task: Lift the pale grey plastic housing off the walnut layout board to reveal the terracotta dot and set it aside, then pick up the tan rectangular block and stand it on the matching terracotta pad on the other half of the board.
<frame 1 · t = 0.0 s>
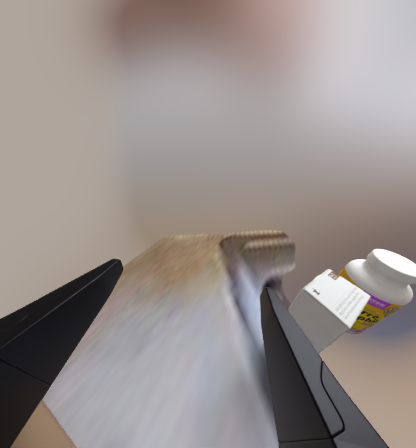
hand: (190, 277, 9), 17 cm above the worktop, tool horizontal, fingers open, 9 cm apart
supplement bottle: (336, 313, 26), on the worktop
skincare box: (288, 342, 21), on the worktop
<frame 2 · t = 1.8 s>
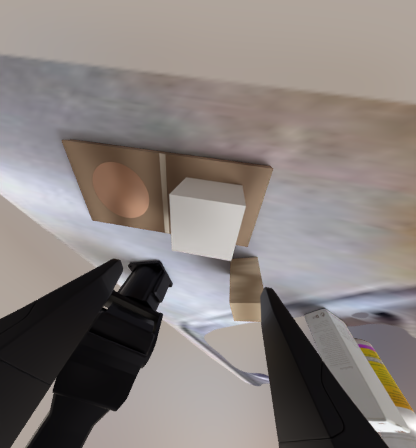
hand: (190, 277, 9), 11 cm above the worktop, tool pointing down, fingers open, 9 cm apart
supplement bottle: (349, 342, 31), on the worktop
layout board: (168, 195, 19), on the worktop
skincare box: (323, 316, 28), on the worktop
tan rectangular block: (244, 267, 23), on the worktop
housing: (210, 206, 17), point 1 cm above the worktop, touching layout board
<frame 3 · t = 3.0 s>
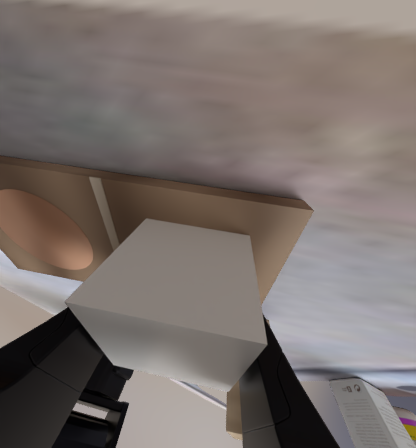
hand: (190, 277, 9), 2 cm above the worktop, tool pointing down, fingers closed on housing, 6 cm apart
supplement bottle: (383, 407, 24), on the worktop
layout board: (127, 238, 11), on the worktop
skincare box: (355, 383, 20), on the worktop
tan rectangular block: (249, 328, 16), on the worktop
housing: (194, 263, 10), point 1 cm above the worktop, touching gripper, layout board
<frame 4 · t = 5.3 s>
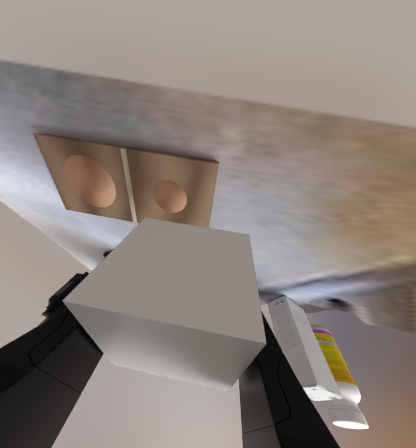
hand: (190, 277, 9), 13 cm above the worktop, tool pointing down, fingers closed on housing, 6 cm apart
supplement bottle: (311, 330, 34), on the worktop
layout board: (134, 187, 21), on the worktop
skincare box: (285, 304, 30), on the worktop
housing: (193, 262, 10), point 12 cm above the worktop, touching gripper
when the fingers open (2 cm above the worktop, at t = 7.7 s): housing drops 1 cm, on the worktop.
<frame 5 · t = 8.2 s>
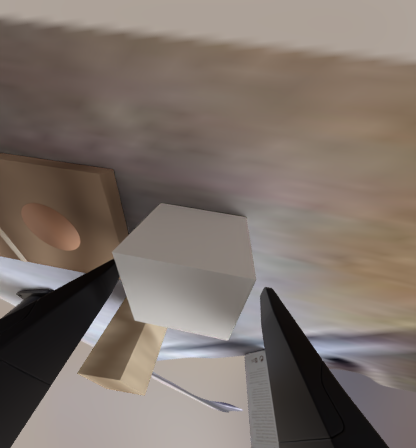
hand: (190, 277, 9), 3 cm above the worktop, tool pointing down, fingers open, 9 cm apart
layout board: (8, 211, 13), on the worktop
skincare box: (269, 357, 22), on the worktop
tan rectangular block: (152, 301, 18), on the worktop
housing: (199, 243, 12), on the worktop
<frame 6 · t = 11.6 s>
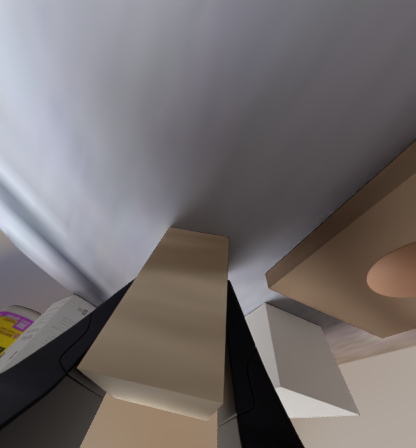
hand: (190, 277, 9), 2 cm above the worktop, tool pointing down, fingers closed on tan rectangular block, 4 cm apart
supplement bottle: (34, 314, 23), on the worktop
skincare box: (80, 306, 19), on the worktop
tan rectangular block: (196, 254, 11), on the worktop, touching gripper
housing: (271, 327, 15), on the worktop
when the fingers open (4 cm above the worktop, at t = 16.9 s): tan rectangular block drops 1 cm, resting on layout board.
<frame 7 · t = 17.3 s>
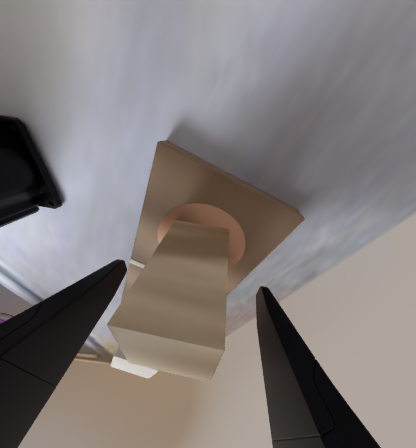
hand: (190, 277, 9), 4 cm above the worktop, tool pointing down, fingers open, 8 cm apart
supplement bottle: (15, 318, 33), on the worktop
layout board: (182, 270, 16), on the worktop
tan rectangular block: (199, 245, 12), point 1 cm above the worktop, touching layout board
housing: (149, 328, 25), on the worktop
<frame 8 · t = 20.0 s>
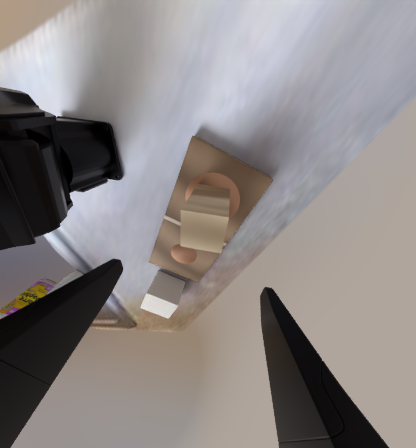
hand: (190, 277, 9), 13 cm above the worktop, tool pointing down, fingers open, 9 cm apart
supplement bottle: (53, 285, 40), on the worktop
layout board: (197, 226, 23), on the worktop
skincare box: (80, 277, 36), on the worktop
tan rectangular block: (211, 201, 19), point 1 cm above the worktop, touching layout board
housing: (168, 283, 32), on the worktop
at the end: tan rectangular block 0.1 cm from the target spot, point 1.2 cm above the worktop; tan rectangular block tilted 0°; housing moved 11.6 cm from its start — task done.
